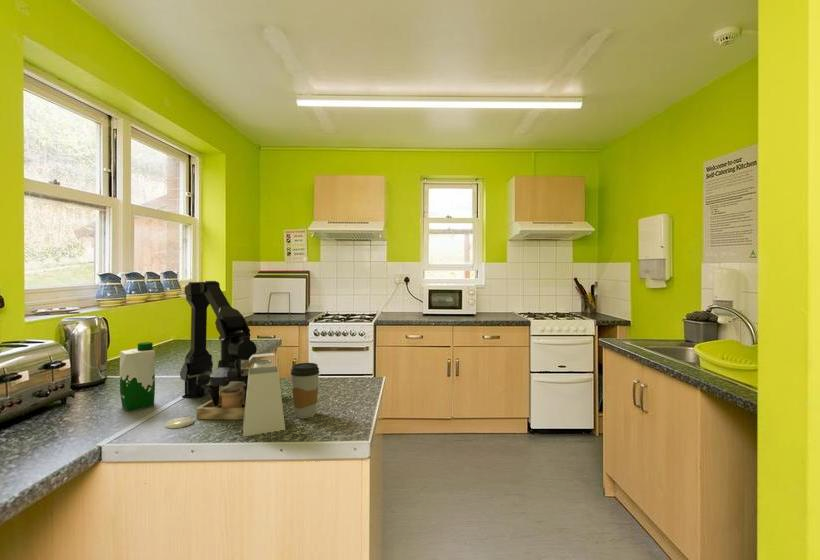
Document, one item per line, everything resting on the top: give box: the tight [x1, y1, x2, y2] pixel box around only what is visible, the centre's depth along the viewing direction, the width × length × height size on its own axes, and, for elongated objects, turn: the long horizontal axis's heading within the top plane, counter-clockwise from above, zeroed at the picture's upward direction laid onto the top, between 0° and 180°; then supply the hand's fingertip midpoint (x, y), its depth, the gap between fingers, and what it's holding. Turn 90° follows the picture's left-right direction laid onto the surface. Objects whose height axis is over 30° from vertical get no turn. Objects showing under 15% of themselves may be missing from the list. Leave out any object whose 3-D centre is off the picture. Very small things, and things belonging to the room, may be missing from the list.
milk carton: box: [119, 341, 156, 412], centre depth 126 cm, size 9×9×20 cm
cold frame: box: [196, 367, 251, 420], centre depth 122 cm, size 16×14×12 cm
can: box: [253, 359, 274, 368], centre depth 137 cm, size 6×6×12 cm
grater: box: [242, 352, 286, 437], centre depth 110 cm, size 10×10×20 cm
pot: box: [219, 387, 243, 408], centre depth 120 cm, size 6×6×7 cm
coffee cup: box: [290, 362, 320, 420], centre depth 118 cm, size 8×8×15 cm
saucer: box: [164, 416, 195, 429], centre depth 112 cm, size 7×7×1 cm
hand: (231, 406), depth 120 cm, fingers open, 9 cm apart
